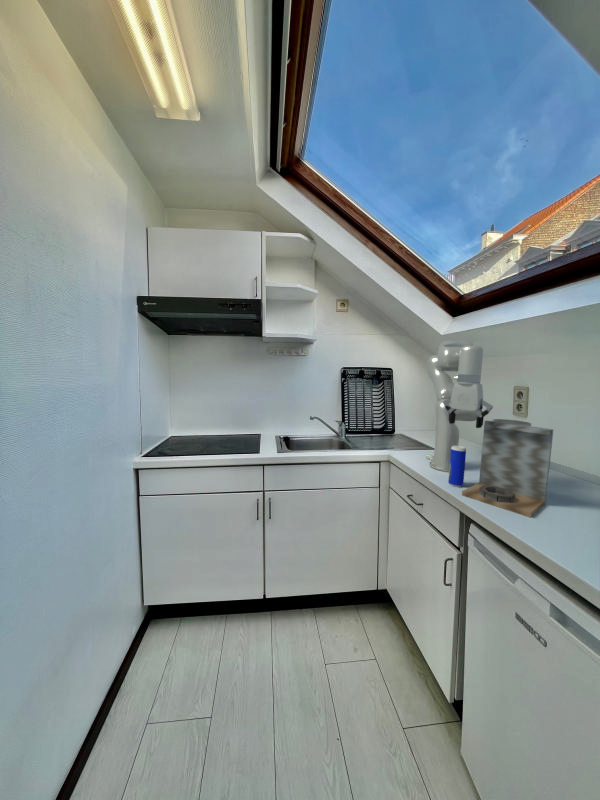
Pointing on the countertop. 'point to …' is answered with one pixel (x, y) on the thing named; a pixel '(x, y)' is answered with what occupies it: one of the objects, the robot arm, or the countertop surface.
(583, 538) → the countertop surface
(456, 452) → the beverage can
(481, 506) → the countertop surface
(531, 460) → the display stand
